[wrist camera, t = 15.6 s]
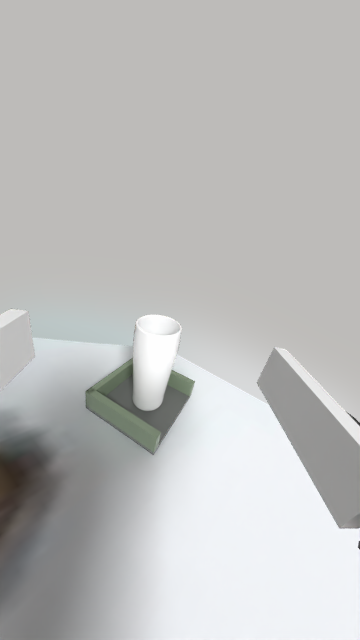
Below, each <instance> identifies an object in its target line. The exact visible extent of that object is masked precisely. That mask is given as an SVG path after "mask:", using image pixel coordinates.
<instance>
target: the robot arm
mask: <svg viewBox="0 0 360 640" xmlns="http://www.w3.org/2000/svg"><path fill="white" fill-rule="evenodd" d="M34 357H35V353H34V346H33V339H32V333H31V326H30V319H29V313H28V311H24V310H17V309H9V310H7V311H5V312H4V313H2V314H0V391H1V390H2V389H3V388H4V387H5V386H6V385H7V384H8V383H9V382H10V381H11V380H12V379H13V378H14V377H15V376H16V375H17V374H18V373H19V372H20V371H21V370H22V369H23V368H24V367H25V366H26V365H27V364H28V363H29V362H30V361H31V360H32V359H33V358H34ZM257 384H258V386H259V388H260V389H261V391H262V393H263V394H264V396H265V398H266V400H267V402H268V403H269V405H270V407H271V409H272V411H273V412H274V414H275V416H276V418H277V419H278V421H279V423H280V425H281V426H282V428H283V430H284V432H285V433H286V435H287V437H288V439H289V441H290V442H291V444H292V446H293V448H294V449H295V451H296V453H297V455H298V456H299V458H300V460H301V462H302V463H303V465H304V467H305V469H306V471H307V472H308V474H309V476H310V478H311V479H312V481H313V483H314V485H315V486H316V488H317V490H318V492H319V493H320V495H321V497H322V499H323V501H324V502H325V504H326V506H327V508H328V509H329V511H330V513H331V515H332V516H333V518H334V520H335V522H336V523H337V525H338V527H339V528H360V423H359V422H358V421H357V420H356V419H355V418H354V417H353V416H351V415H350V414H349V413H347V412H346V411H344V409H343V408H342V407H341V406H340V405H339V404H338V403H337V402H336V401H335V400H334V399H333V398H332V397H331V396H330V395H329V394H328V393H327V392H326V391H325V389H324V388H323V387H322V386H321V385H320V384H319V383H318V382H317V381H316V380H315V379H314V378H313V377H312V376H311V375H310V374H309V373H308V372H307V371H306V369H305V368H303V366H302V365H301V364H300V363H299V362H298V361H297V360H296V359H295V358H294V357H293V356H292V355H291V354H290V353H289V352H288V351H287V350H286V349H282V348H275V347H274V349H273V351H272V353H271V355H270V357H269V359H268V361H267V363H266V365H265V367H264V369H263V371H262V373H261V375H260V377H259V379H258V381H257ZM358 548H359V549H360V541H359V545H358Z"/></svg>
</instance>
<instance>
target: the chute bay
mask: <svg viewBox="0 0 360 640" xmlns="http://www.w3.org/2000/svg"><path fill="white" fill-rule="evenodd" d="M194 383H195V381H193V380H191V379H189V378H187V377H185V376H183V375H181V374H179V373H177V372H175V371H173V370H172V371H171V374H170V377H169V381H168V384H167V387H166V390H165V394H164V398H163V402H162V404H161V405H160V406H159V407H158V408H157V409H155V410H152V411H143V410H141V409H139V408H137V407H136V406H135V404H134V403H133V399H132V395H133V358H132V359H130V360H129V361H128V362H126V363H125V364H123V365H122V366H121V367H119V368H118V369H116V370H115V371H114V372H112V373H111V374H109V375H108V376H106V377H105V378H104V379H102V380H101V381H99V382H98V383H97V384H95V385H94V386H92V387H91V388H90V389H88V390H87V391H86V408H87V409H89V410H90V411H91V412H93V413H94V414H96V415H97V416H99V417H100V418H101V419H103V420H104V421H106V422H107V423H109V424H110V425H112V426H113V427H114V428H116V429H117V430H119V431H120V432H122V433H123V434H124V435H126V436H127V437H129V438H130V439H132V440H133V441H134V442H136V443H137V444H139V445H140V446H142V447H143V448H144V449H146V450H147V451H149V452H150V453H152V454H153V455H154V453H155V451H156V450H157V448H158V447H159V445H160V444H161V442H162V440H163V439H164V437H165V436H166V434H167V432H168V431H169V429H170V428H171V426H172V425H173V423H174V421H175V420H176V418H177V417H178V415H179V413H180V412H181V410H182V409H183V407H184V405H185V404H186V402H187V401H188V399H189V398H190V396H191V393H192V390H193V387H194Z"/></svg>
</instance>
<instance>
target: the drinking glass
mask: <svg viewBox="0 0 360 640" xmlns="http://www.w3.org/2000/svg"><path fill="white" fill-rule="evenodd" d="M181 331H182V327H181V325H180V324H179V323H178V322H177V321H176V320H174V319H172V318H169V317H166V316H162V315H146V316H142V317H140V318H139V319H138V320H137V321H136V325H135V331H134V339H133V395H132V399H133V403H134V404H135V406H136V407H137V408H139V409H141V410H143V411H152V410H155V409H157V408H158V407H159V406H160V405H161V404H162V402H163V398H164V394H165V390H166V387H167V384H168V381H169V377H170V374H171V371H172V368H173V365H174V362H175V359H176V356H177V352H178V348H179V343H180V338H181Z"/></svg>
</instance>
